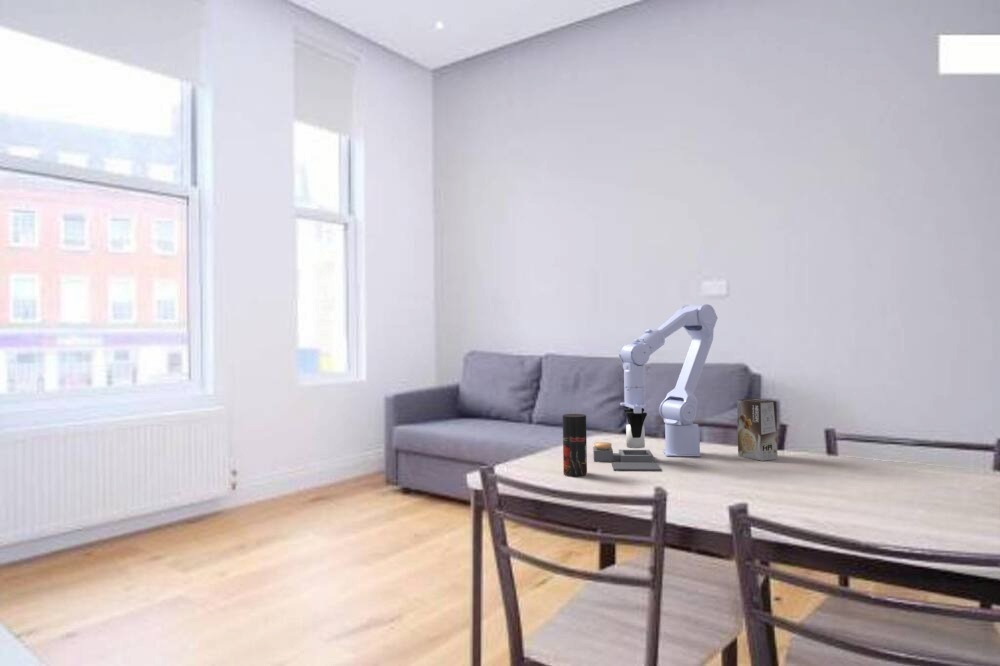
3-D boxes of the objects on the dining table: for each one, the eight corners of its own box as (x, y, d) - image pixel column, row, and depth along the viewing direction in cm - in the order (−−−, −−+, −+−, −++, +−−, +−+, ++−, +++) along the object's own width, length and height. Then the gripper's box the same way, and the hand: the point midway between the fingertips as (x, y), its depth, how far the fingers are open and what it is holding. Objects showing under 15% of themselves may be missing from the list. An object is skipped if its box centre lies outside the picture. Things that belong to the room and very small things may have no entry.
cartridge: (643, 445, 186) (643, 420, 186) (645, 448, 181) (645, 423, 181) (625, 445, 187) (625, 421, 187) (627, 448, 182) (626, 423, 182)
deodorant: (588, 476, 165) (587, 416, 165) (564, 477, 165) (563, 417, 165) (585, 471, 171) (584, 413, 171) (562, 471, 171) (561, 413, 171)
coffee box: (778, 459, 182) (778, 400, 182) (761, 461, 179) (761, 402, 179) (753, 453, 190) (752, 397, 190) (736, 455, 188) (735, 399, 187)
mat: (656, 464, 178) (656, 462, 178) (661, 471, 170) (661, 469, 170) (611, 464, 179) (611, 462, 179) (613, 470, 171) (613, 468, 171)
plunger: (611, 455, 187) (610, 442, 187) (612, 458, 182) (612, 445, 182) (594, 455, 188) (593, 442, 188) (594, 458, 183) (594, 445, 183)
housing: (649, 456, 188) (649, 446, 188) (653, 463, 180) (653, 452, 179) (593, 456, 190) (592, 446, 190) (594, 462, 181) (594, 451, 181)
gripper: (618, 384, 192) (618, 431, 192) (622, 389, 177) (623, 440, 177) (642, 384, 191) (643, 431, 191) (649, 389, 176) (649, 440, 177)
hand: (635, 435), depth 184 cm, fingers closed on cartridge, 5 cm apart
